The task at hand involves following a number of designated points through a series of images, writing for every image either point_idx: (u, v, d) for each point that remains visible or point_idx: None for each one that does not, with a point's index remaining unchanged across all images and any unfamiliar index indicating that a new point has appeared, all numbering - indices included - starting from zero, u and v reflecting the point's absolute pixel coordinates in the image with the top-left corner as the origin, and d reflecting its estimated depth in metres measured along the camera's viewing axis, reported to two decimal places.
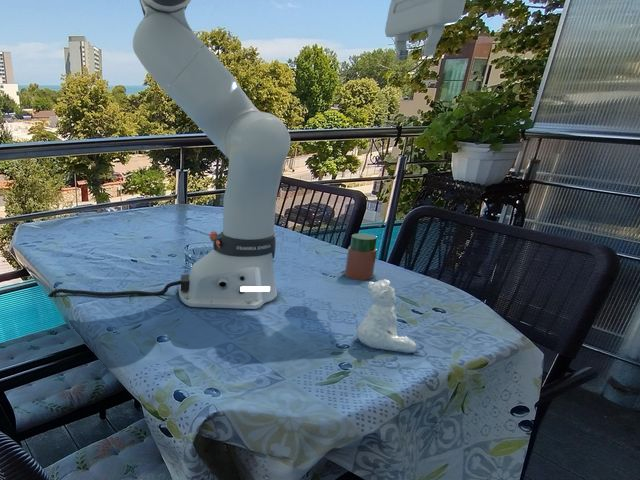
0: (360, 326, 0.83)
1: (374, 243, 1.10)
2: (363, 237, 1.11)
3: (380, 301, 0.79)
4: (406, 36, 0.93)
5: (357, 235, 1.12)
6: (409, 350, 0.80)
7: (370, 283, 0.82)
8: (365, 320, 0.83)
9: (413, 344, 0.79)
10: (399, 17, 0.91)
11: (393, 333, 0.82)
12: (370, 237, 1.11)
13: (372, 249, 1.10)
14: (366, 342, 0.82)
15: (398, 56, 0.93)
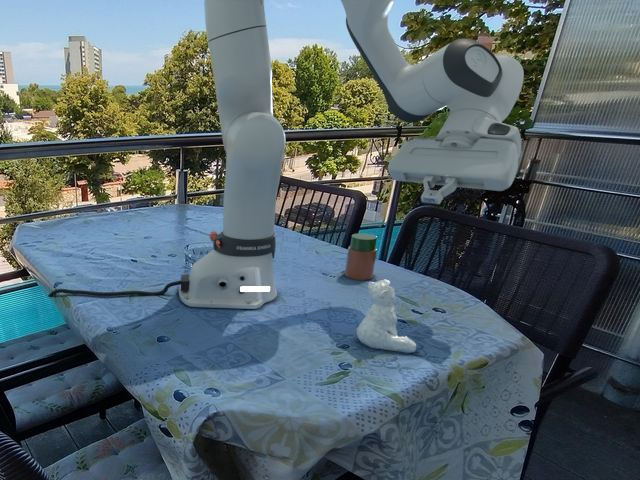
0: (360, 326, 0.83)
1: (374, 243, 1.10)
2: (363, 237, 1.11)
3: (380, 301, 0.79)
4: (434, 183, 0.85)
5: (357, 235, 1.12)
6: (409, 350, 0.80)
7: (370, 283, 0.82)
8: (365, 320, 0.83)
9: (413, 344, 0.79)
10: (421, 159, 0.86)
11: (393, 333, 0.82)
12: (370, 237, 1.11)
13: (372, 249, 1.10)
14: (366, 342, 0.82)
15: (428, 195, 0.83)
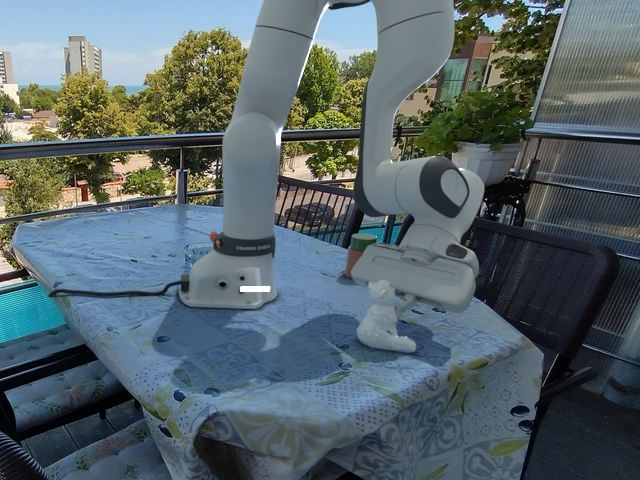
0: (360, 326, 0.83)
1: (374, 243, 1.10)
2: (363, 237, 1.11)
3: (380, 301, 0.79)
4: (395, 295, 0.85)
5: (357, 235, 1.12)
6: (409, 350, 0.80)
7: (370, 283, 0.82)
8: (365, 320, 0.83)
9: (413, 344, 0.79)
10: (383, 269, 0.86)
11: (393, 333, 0.82)
12: (370, 237, 1.11)
13: None
14: (366, 342, 0.82)
15: None
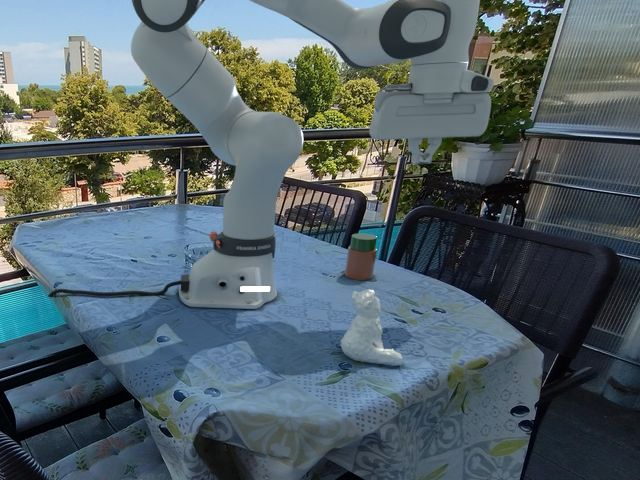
0: (344, 338, 0.79)
1: (374, 243, 1.10)
2: (363, 237, 1.11)
3: (364, 312, 0.75)
4: None
5: (357, 235, 1.12)
6: (395, 363, 0.76)
7: (354, 293, 0.79)
8: (349, 332, 0.79)
9: (399, 357, 0.76)
10: (410, 122, 0.83)
11: (378, 345, 0.78)
12: (370, 237, 1.11)
13: (372, 249, 1.10)
14: (351, 355, 0.78)
15: (422, 160, 0.86)
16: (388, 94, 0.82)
